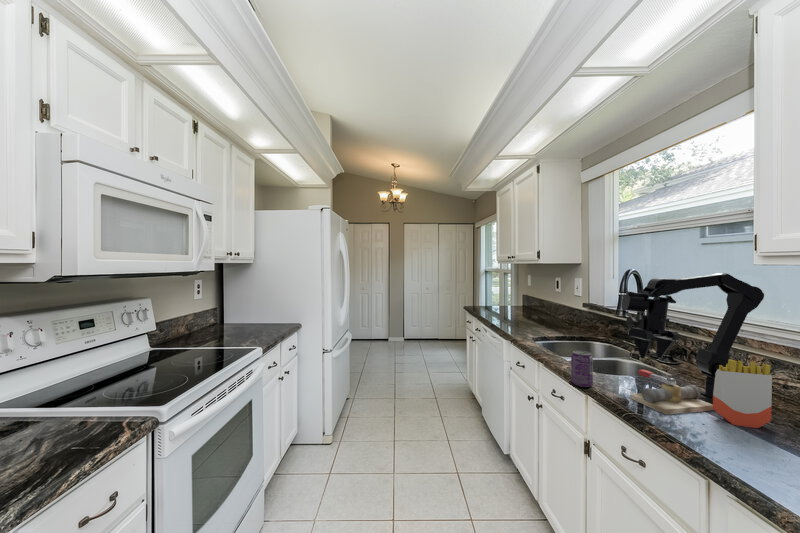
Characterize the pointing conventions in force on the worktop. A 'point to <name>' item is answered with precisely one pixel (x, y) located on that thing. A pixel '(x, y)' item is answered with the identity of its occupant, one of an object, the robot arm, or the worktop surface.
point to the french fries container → (743, 394)
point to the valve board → (675, 406)
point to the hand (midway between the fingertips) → (650, 357)
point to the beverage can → (582, 368)
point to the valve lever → (658, 377)
